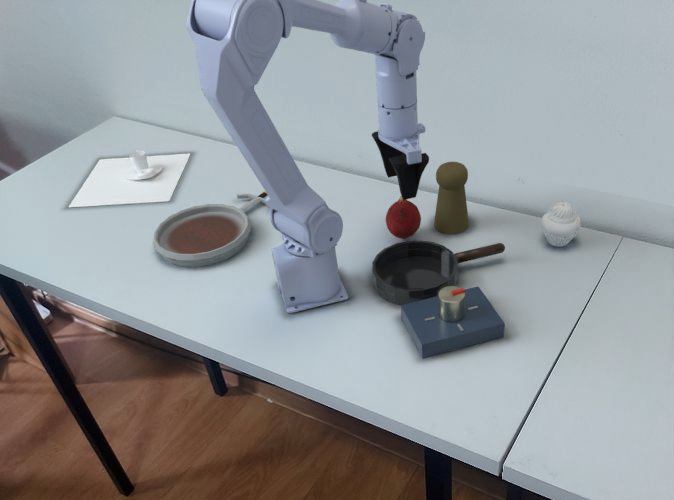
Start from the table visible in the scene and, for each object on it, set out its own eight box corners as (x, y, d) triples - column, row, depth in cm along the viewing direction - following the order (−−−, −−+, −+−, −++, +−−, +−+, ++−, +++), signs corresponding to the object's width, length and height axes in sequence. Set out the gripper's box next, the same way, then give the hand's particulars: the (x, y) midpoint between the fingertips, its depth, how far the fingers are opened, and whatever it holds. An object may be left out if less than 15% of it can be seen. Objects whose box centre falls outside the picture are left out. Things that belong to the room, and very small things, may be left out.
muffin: (585, 238, 107) (591, 200, 102) (565, 256, 104) (571, 218, 99) (551, 226, 110) (556, 189, 105) (531, 243, 107) (535, 205, 102)
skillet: (388, 314, 96) (387, 298, 94) (363, 266, 106) (362, 251, 104) (470, 294, 99) (471, 278, 96) (439, 248, 108) (439, 233, 106)
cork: (459, 237, 110) (460, 177, 102) (427, 229, 112) (426, 170, 105) (475, 219, 113) (477, 161, 106) (443, 212, 116) (443, 154, 109)
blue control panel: (422, 358, 89) (421, 343, 87) (401, 318, 96) (400, 304, 94) (503, 336, 91) (505, 322, 89) (477, 299, 98) (478, 284, 96)
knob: (444, 324, 90) (444, 302, 87) (434, 309, 93) (434, 287, 90) (468, 318, 91) (469, 296, 88) (458, 303, 93) (459, 281, 91)
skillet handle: (453, 266, 102) (454, 258, 100) (450, 260, 103) (450, 252, 102) (506, 253, 103) (507, 245, 102) (502, 248, 104) (502, 240, 103)
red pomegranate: (418, 249, 108) (417, 206, 103) (384, 247, 109) (381, 205, 104) (423, 230, 112) (422, 188, 107) (390, 228, 113) (387, 186, 108)
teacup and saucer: (157, 182, 132) (151, 163, 129) (118, 184, 132) (111, 166, 130) (167, 162, 138) (161, 143, 136) (130, 164, 139) (124, 146, 136)
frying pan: (309, 189, 121) (200, 265, 104) (311, 203, 123) (204, 280, 106) (241, 169, 128) (129, 237, 112) (244, 183, 130) (135, 252, 114)
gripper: (441, 115, 90) (441, 202, 99) (407, 79, 101) (410, 161, 110) (392, 124, 89) (397, 212, 98) (363, 87, 99) (369, 169, 109)
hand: (401, 186), depth 104 cm, fingers open, 7 cm apart
